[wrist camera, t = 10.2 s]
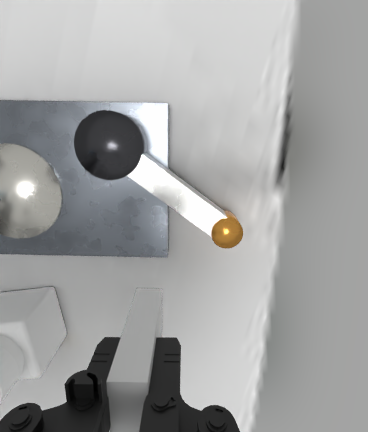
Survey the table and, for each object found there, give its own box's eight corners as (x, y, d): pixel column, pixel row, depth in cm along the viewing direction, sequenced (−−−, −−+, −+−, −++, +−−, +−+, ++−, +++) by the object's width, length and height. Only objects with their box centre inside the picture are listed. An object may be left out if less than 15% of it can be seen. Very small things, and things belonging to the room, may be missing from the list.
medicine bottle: (15, 339, 37) (-64, 432, 25) (-1, 291, 35) (-95, 368, 23) (68, 334, 36) (13, 425, 25) (54, 285, 34) (-12, 360, 23)
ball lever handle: (75, 151, 28) (61, 153, 25) (107, 99, 26) (97, 94, 23) (216, 252, 31) (219, 265, 28) (252, 210, 29) (259, 218, 26)
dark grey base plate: (-51, 245, 33) (-68, 253, 31) (-84, 101, 29) (-106, 97, 27) (168, 250, 33) (167, 258, 31) (168, 105, 29) (167, 102, 26)
